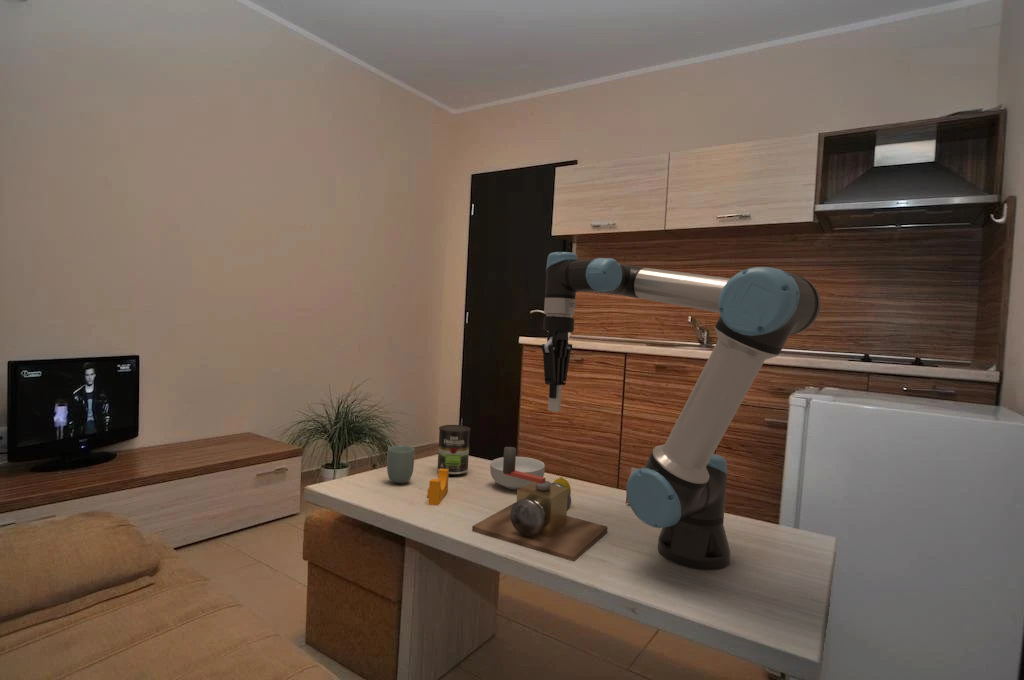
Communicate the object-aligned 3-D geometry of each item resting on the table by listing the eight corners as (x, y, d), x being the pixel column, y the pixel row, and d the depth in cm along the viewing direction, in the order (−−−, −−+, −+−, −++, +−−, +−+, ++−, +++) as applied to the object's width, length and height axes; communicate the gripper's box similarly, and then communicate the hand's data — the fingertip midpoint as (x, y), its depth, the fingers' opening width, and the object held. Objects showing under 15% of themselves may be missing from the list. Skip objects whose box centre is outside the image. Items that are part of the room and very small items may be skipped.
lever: (553, 487, 121) (555, 455, 121) (545, 491, 118) (547, 458, 118) (507, 476, 128) (509, 445, 128) (499, 479, 125) (501, 448, 125)
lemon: (567, 511, 136) (569, 481, 135) (547, 507, 137) (549, 478, 137) (571, 504, 141) (573, 476, 141) (552, 501, 143) (554, 473, 142)
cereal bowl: (500, 474, 165) (501, 453, 165) (549, 482, 160) (550, 460, 160) (480, 490, 149) (482, 466, 149) (535, 499, 144) (536, 474, 143)
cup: (418, 480, 155) (419, 448, 154) (399, 487, 148) (401, 453, 148) (399, 475, 159) (401, 444, 158) (381, 481, 152) (382, 448, 152)
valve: (572, 520, 125) (574, 484, 125) (542, 543, 112) (544, 502, 111) (539, 511, 130) (541, 477, 130) (507, 532, 116) (509, 493, 116)
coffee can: (468, 475, 163) (470, 431, 162) (436, 474, 162) (438, 430, 162) (468, 465, 173) (470, 425, 173) (438, 465, 172) (440, 424, 172)
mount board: (607, 532, 123) (607, 526, 123) (573, 564, 106) (573, 557, 105) (515, 507, 136) (515, 502, 136) (472, 532, 119) (472, 526, 119)
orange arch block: (433, 489, 148) (434, 468, 147) (447, 491, 147) (448, 469, 147) (422, 504, 136) (423, 480, 136) (437, 505, 135) (438, 481, 135)
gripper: (561, 315, 117) (556, 416, 118) (583, 317, 128) (578, 409, 129) (533, 314, 121) (528, 412, 122) (556, 316, 132) (552, 406, 133)
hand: (554, 410), depth 125 cm, fingers closed
